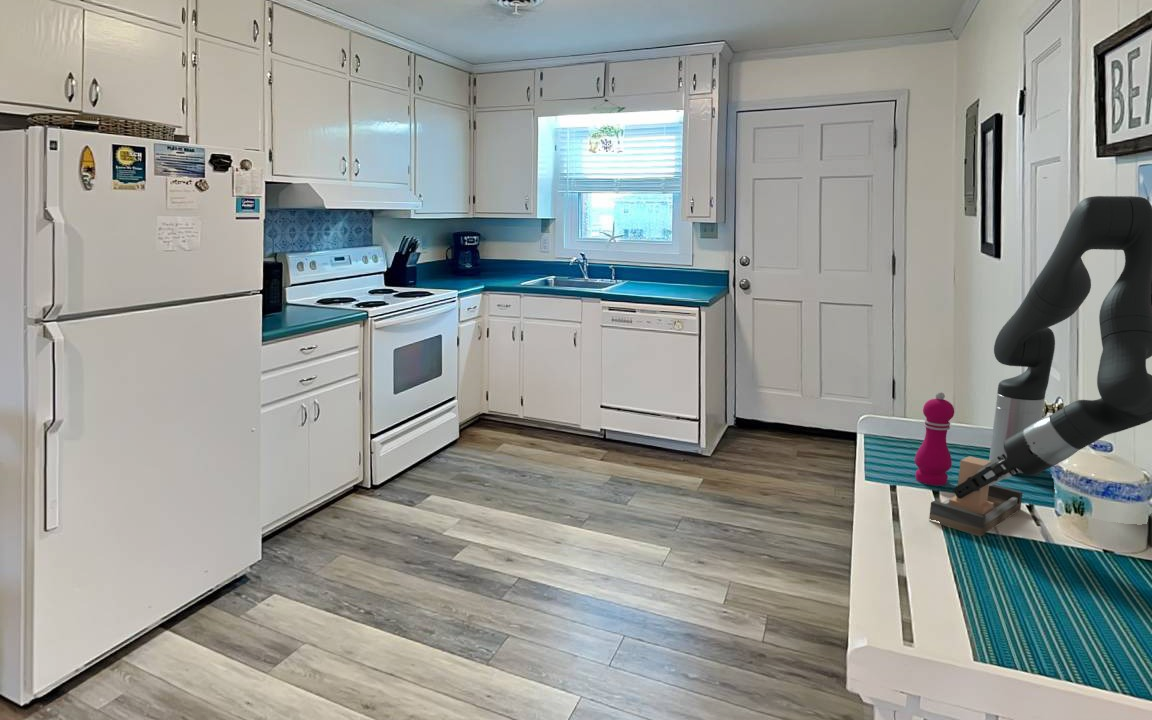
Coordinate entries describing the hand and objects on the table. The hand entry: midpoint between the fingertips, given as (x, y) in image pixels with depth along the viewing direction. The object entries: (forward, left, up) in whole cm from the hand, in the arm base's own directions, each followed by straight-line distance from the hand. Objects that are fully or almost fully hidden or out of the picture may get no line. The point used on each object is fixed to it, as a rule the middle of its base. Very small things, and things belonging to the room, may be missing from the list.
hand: (961, 490), depth 133 cm
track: (-3, +2, -5) cm, 6 cm away
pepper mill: (-16, -12, -5) cm, 21 cm away
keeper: (0, +2, -3) cm, 4 cm away
